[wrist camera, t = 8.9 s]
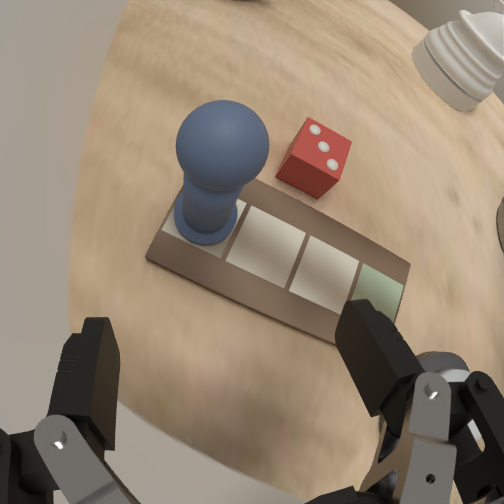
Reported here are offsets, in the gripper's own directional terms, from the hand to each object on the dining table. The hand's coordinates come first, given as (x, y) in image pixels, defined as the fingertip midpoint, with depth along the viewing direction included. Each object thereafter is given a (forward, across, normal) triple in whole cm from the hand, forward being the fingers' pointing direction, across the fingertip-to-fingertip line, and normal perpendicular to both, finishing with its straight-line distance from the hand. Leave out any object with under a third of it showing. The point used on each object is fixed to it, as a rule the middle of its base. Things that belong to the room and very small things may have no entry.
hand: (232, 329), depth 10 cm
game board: (+12, +7, -6) cm, 15 cm away
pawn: (+13, 0, -2) cm, 13 cm away
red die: (+17, +9, 0) cm, 19 cm away
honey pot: (+31, +36, +13) cm, 50 cm away
